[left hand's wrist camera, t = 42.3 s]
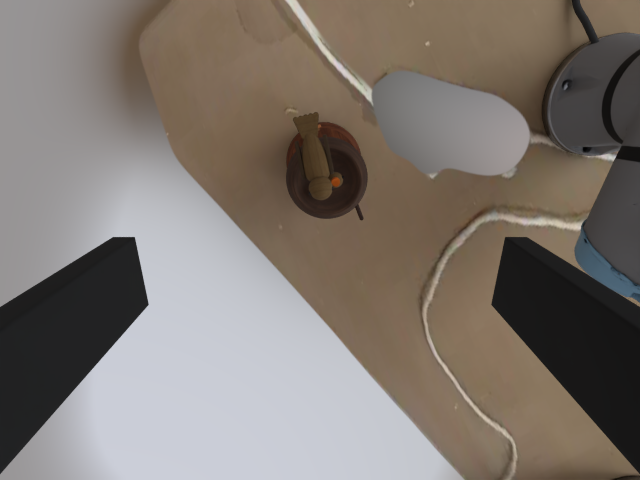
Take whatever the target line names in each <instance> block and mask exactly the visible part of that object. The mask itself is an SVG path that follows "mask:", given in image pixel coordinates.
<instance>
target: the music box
mask: <svg viewBox="0 0 640 480" xmlns="http://www.w3.org/2000/svg"><path fill="white" fill-rule="evenodd" d="M293 121H294V123H295V125H296V127H297V129H298V131H299V133H298V134H297V135H296V137H295V138H294V139H293V141H292V142H291V144H290V147H289V149H288V153H287V173H286V183H287V188H288V191H289V194H290V196H291V198H292V200H293V201H294V203H295V204H296V205H297V206H298V207H299V208H300V209H301V210H302V211H304V212H305V213H307V214H309V215H311V216H314V217H317V218H323V219H330V218H336V217H340V216H342V215H344V214H346V213H348V212H350V211H351V210H352V209H353V208H356V211H357V213H358V216H359V218H360V220H363V216H362V213H361V210H360V208H359V205H358V203H359V202H360V200H361V199H362V197H363V195H364V193H365V190H366V186H367V169H366V165H365V162H364V160H363V158H362V156H361V153H360V149H359V146H358V144H357V142H356V141H355V139H354V138H353V136H352V135H351V134H350V133H349V132H348V131H346V130H345V129H344V128H342V127H340V126H338V125H336V124H333V123H328V122H320V123H318V113H317V112H315V113H314V114H311V113H310V114H309V115H304V116H299V117H298V118H297V117H294V118H293Z"/></svg>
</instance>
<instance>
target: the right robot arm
mask: <svg viewBox="0 0 640 480" xmlns="http://www.w3.org/2000/svg"><path fill="white" fill-rule="evenodd" d="M616 480H640V476H630V477H623V478H619V479H616Z"/></svg>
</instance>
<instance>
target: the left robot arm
mask: <svg viewBox="0 0 640 480" xmlns="http://www.w3.org/2000/svg"><path fill="white" fill-rule="evenodd" d="M572 5H573V8H574V11H575V13H576V15H577V17H578V18H579V20H580V21H581V23H582V25H583V27H584V29H585V31H586V33H587V35H588V37H589V40H590V42H588V43H586V44H584V45H582V46H581V47H579V48H577V49H576V50H575V51H574V52H572V53H571V54H570V55H569V56H568V57H567V58H566V59H565V60H564V61H563V62H562V63H561V64H560V66H559V67H558V68H557V70H556V71H555V73H554V74H553V76H552V78H551V80H550V82H549V84H548V86H547V89H546V92H545V95H544V99H543V106H542V116H543V123H544V126H545V129H546V132H547V134H548V135H549V137H550V138H551V140H552V141H553V142H554V143H555V144H556V145H557V146H558V147H560V148H562V149H563V150H565V151H568V152H571V153H575V154H581V155H588V156H596V155H603V154H608V153H612V152H616V151H619V152H618V154H617V156H616V158H615V160H614V162H613V164H612V166H611V169H610V171H609V173H608V175H607V177H606V179H605V182H604V184H603V186H602V188H601V190H600V192H599V194H598V197H597V199H596V201H595V203H594V205H593V207H592V209H591V212H590V214H589V216H588V218H587V219H586V220H585V221H584V222H583V223H582V225H581V233H580V236H579V238H578V241H577V243H576V246H575V250H574V251H575V258H576V261H577V262H578V264H579V265H580V267H581V268H582V269H583V270H584V271H585V272H586V273H588V274H589V275H590V276H591V277H590V276H589V275H587V274H586V273H584V272H582V271H581V270H579V269H577V268H576V267H574V266H573V265H571V264H569V263H568V262H566V261H565V260H563V259H561V258H560V257H558V256H556V255H555V254H553V253H552V252H550V251H548V250H547V249H545V248H544V247H542V246H540V245H539V244H537V243H535V242H534V241H532V240H531V239H529V238H527V237H505V241H504V246H503V251H502V256H501V260H500V265H499V270H498V275H497V280H496V285H495V290H494V294H493V299H492V304H491V305H492V306H493V307H494V308H495V309H496V311H497V312H498V313H499V314H500V315H501V316H502V317H503V318H504V320H505V321H506V322H507V323H508V324H509V325H510V326H511V328H512V329H513V330H514V331H515V332H516V333H517V334H518V336H519V337H520V338H521V339H522V340H523V341H524V342H525V344H526V345H527V346H528V347H529V348H530V349H531V350H532V352H533V353H534V354H535V355H536V356H537V357H538V358H539V360H540V361H541V362H542V363H543V364H544V365H545V366H546V368H547V369H548V370H549V371H550V372H551V373H552V374H553V376H554V377H555V378H556V379H557V380H558V381H559V382H560V384H561V385H562V386H563V387H564V388H565V389H566V390H567V392H568V393H569V394H570V395H571V396H572V397H573V398H574V399H575V401H576V402H577V403H578V404H579V405H580V406H581V407H582V409H583V410H584V411H585V412H586V413H587V414H588V415H589V417H590V418H591V419H592V420H593V421H594V422H595V423H596V425H597V426H598V427H599V428H600V429H601V430H602V431H603V433H604V434H605V435H606V436H607V437H608V438H609V439H610V441H611V442H612V443H613V444H614V445H615V446H616V447H617V449H618V450H619V451H620V452H621V453H622V454H623V455H624V457H625V458H626V459H627V460H628V461H629V462H630V463H631V465H632V466H633V467H634V468H635V469H636V470H637V471H638V473H639V474H640V307H639V306H637V305H636V304H634V303H632V302H631V301H629V300H628V299H626V298H624V297H623V296H625V297H632V298H634V299H635V300H637V301H638V302H640V35H639V34H634V33H617V34H612V35H608V36H604V37H600V38H598V37H597V35H596V33H595V31H594V29H593V27H592V25H591V22H590V20H589V19H588V17H587V15H586V14H585V12H584V10H583V9H582V7H581V4H580V0H572ZM592 277H593V278H592ZM616 292H617V293H616ZM618 293H619V294H621V295H623V296H621V295H619V294H618ZM147 306H148V299H147V294H146V290H145V285H144V280H143V275H142V270H141V265H140V261H139V256H138V251H137V246H136V241H135V237H113V238H111V239H109V240H108V241H106V242H105V243H103V244H101V245H100V246H98V247H97V248H95V249H93V250H92V251H90V252H88V253H87V254H85V255H84V256H82V257H80V258H79V259H77V260H76V261H74V262H72V263H71V264H69V265H67V266H66V267H64V268H63V269H61V270H59V271H58V272H56V273H54V274H53V275H51V276H50V277H48V278H46V279H45V280H43V281H42V282H40V283H38V284H37V285H35V286H33V287H32V288H30V289H29V290H27V291H25V292H24V293H22V294H21V295H19V296H17V297H16V298H14V299H13V300H11V301H9V302H8V303H6V304H4V305H3V306H1V307H0V474H1V473H2V471H3V470H4V469H5V468H6V467H7V466H8V464H9V463H10V462H11V461H12V460H13V459H14V458H15V457H16V455H17V454H18V453H19V452H20V451H21V450H22V449H23V447H24V446H25V445H26V444H27V443H28V442H29V441H30V439H31V438H32V437H33V436H34V435H35V434H36V433H37V431H38V430H39V429H40V428H41V427H42V426H43V425H44V423H45V422H46V421H47V420H48V419H49V418H50V417H51V415H52V414H53V413H54V412H55V411H56V410H57V409H58V407H59V406H60V405H61V404H62V403H63V402H64V401H65V399H66V398H67V397H68V396H69V395H70V394H71V393H72V391H73V390H74V389H75V388H76V387H77V386H78V385H79V384H80V382H81V381H82V380H83V379H84V378H85V377H86V376H87V374H88V373H89V372H90V371H91V370H92V369H93V368H94V366H95V365H96V364H97V363H98V362H99V361H100V360H101V358H102V357H103V356H104V355H105V354H106V353H107V352H108V350H109V349H110V348H111V347H112V346H113V345H114V344H115V342H116V341H117V340H118V339H119V338H120V337H121V336H122V334H123V333H124V332H125V331H126V330H127V329H128V328H129V326H130V325H131V324H132V323H133V322H134V321H135V320H136V318H137V317H138V316H139V315H140V314H141V313H142V312H143V310H144V309H145V308H146V307H147Z"/></svg>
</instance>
